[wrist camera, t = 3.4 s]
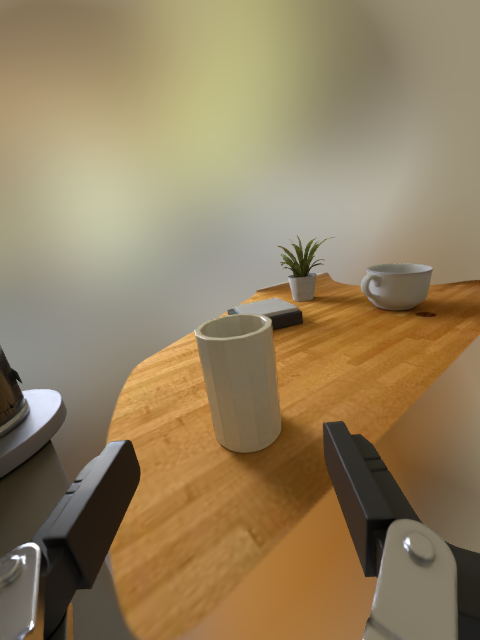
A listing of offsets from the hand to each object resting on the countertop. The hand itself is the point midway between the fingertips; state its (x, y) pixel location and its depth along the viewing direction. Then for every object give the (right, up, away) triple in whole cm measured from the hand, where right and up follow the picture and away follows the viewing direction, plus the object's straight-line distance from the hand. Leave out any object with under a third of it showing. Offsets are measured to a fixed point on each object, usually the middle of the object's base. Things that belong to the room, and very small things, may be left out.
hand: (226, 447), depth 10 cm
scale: (+5, +5, +41) cm, 42 cm away
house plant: (+19, +11, +55) cm, 59 cm away
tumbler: (+1, -5, +13) cm, 14 cm away
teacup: (+30, +8, +39) cm, 50 cm away
